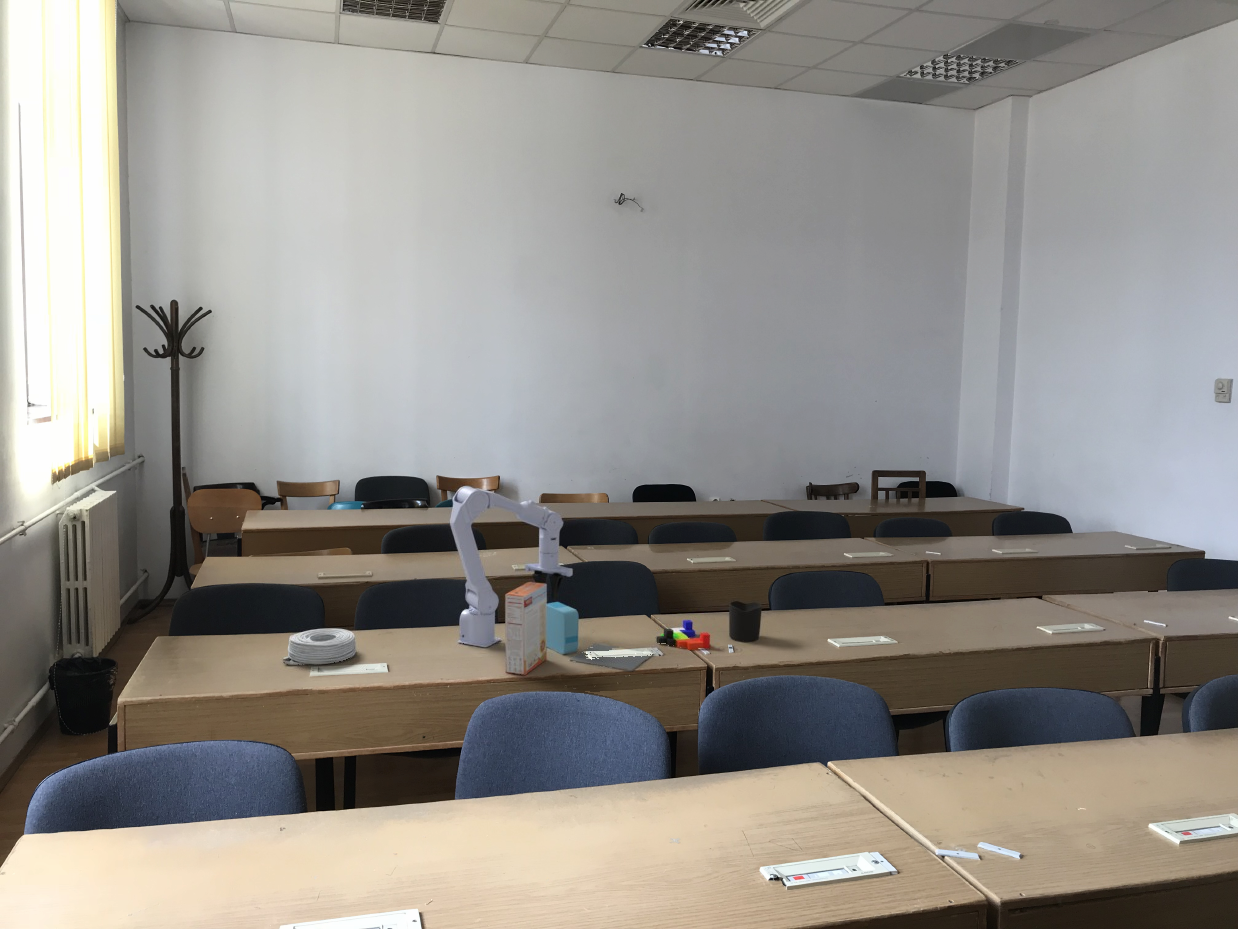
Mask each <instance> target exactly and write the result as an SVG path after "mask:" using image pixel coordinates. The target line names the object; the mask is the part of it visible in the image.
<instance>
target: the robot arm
mask: <svg viewBox="0 0 1238 929" xmlns="http://www.w3.org/2000/svg"><path fill="white" fill-rule="evenodd" d="M494 507H496V508H499V509H502V510H505V511H508V512H510V513H512V514H513V513H514V514H515V515H516V518H517V519H518V520H519V521H521V522H524V523H526V524H528V525H532V526H535V527H537V528H538V529H539V530H538V531H539V534H538V536H539V537H538V538H539V539H538V540H539V541H538V542H539V544H538V549H539V550H538V553H539V554H538V563H525V565H524V567H525V568H524V571H525V572H534V573H532V576H531V577H532V579H533V580H534V582H535V583H544V584H547V578H548V574H552V575H550V576H549V581H550V586H551V587H550V588H551V591H550V593H551V594H550V598H551V600H555V599H557V598H558V593H559V589H560V587H561V585H562V582H563V580H564V578H565V576H566V577H569V578H570V577H571V576H573V575H574V574H573V570H574V569H573V568H569V567H566V566H561V565H559V562H560V561H559V558H560V554H559V553H560V531H561V529H562V528H563V526H564V521H563V519H562V516H561V515H560V514H559V513H558V512H555V511H553V510H550V509H549V508H548V507H547V506H539V505H537V504H536V502H535V501H533V500H530V499H529V500H527V501H526V500H524V501H522V502H517V501H515V500H513V499H511V498H508V497H506V496H503V495H502V494H501V495H500V494H498V493H496V492H493V491H489V490H486V489H481V488H478V487H477V488H476V487H475V488H474V487H472V486H470V485H465V486H461V487H460V488H459V489H458V490H456V493H455V494H454V496H452V509H451V514H450V519H449V526H450V529H451V532H452V535H453V538H454V542H455V546H456V550H457V551H458V555H459V558H460V562H461V565H462V568H463V572H464V575H465V578H466V582H465V585H464V586H465V601H466V602H467V604H468V605H469V607H468V609H467V608H465V609H464V610H462V612H461V614H460V616H459V624H458V625H459V639H458V640H457V643H458V644H463V643H464V645H469V646H475V647H482V648H488V647H490V646H492V645H494V644H495V643H498V642H499V641H501V640H502V638H500V637H495V636H496V635H495V634H496V633H495V631H496V630H495V628H496V627H495V626H496V624H495V622H496V620H495V619H496V617H495V616H496V610H497V608H498V606H499V596H498V594H496V592H495V591H494V589H493V588H492V585H491V584H490V582H489V580H488V578H487V577H486V574H485V571H484V567H483V563H482V560H481V557H480V554H479V550H478V545H477V543H476V539H475V536H474V533H473V529H472V524H473V523H474V521H475V520H476V519H477V518H478V517H479V516H481V514H482V513H484V512H485V511H486V510H487V509H488V510H491V509H492V508H494Z"/></svg>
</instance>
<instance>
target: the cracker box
mask: <svg viewBox="0 0 1238 929" xmlns="http://www.w3.org/2000/svg"><path fill="white" fill-rule="evenodd" d="M547 586H548V585H547V583H546V584H544V583H536V582H535V581H528V582H526V583H523V584H522V585H521V586H519V587H516V588H514V589H513V590H511V591H509V592H508V593H505V595H504V601H505V602H504V612H505V613H504V614H505V615H504V616H505V618H504V619H505V620H504V622H505V624H504V625H505V637H504V638H505V673H507V674H512V673H515V674H514V675H520V674H521V675H520V676H526V675H527V674H528V673H530V672H532V671H533V670H534V669H535V668H536V667H538V666H540V664H541V663H544V662H545V660H547V653H548V652H547V648H548V647H547V604H548V603H547V602H548V598H547V597H548V596H547V593H548V592H547V591H548V589H547V588H548V587H547Z"/></svg>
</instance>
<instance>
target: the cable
mask: <svg viewBox="0 0 1238 929" xmlns="http://www.w3.org/2000/svg"><path fill="white" fill-rule="evenodd" d="M287 652H288V653H287V656H285V657H283V658H282V659H281V660H282V661H283V662H284V661H285V662H284V664H285V665H287V664H288V665H287V666H305V665H304V664H314V665H326V664H334V662H335V663H340V662H339V661H341V662H344V661H343V660H345V661H347V660H346V659H348V658H350V657H351V658H353V657H354V656H355V654H356V653H357V643H356V635H355V633H354V632H352V631H351V630H349V629H343V628H317V629H310V630H305V631H302V632H301V631H300V632H298V633H295V634H291V635H290V636H289V640H288V647H287ZM351 658H350V659H351ZM348 660H349V659H348ZM298 664H299V665H298ZM302 664H303V665H302Z"/></svg>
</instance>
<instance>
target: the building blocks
mask: <svg viewBox="0 0 1238 929" xmlns="http://www.w3.org/2000/svg"><path fill="white" fill-rule="evenodd" d="M693 625H694V624H693V621H692V620H690V619H684V620H682V627H673V628H671V627H670V628H663V633H661V634H660V635H657V636H656V642H657V643H660V644H661V643H666V644H668V645H669V646H668V647H677V648H678V647H679V648H678V649H681V648H680V647H685V648H684V649H687V650H688V651H692V650H693V651H694V650H699V649H698V648H707V649H710V644H711V643H710V642H711V634H709V632H700V634H699V635H700V636H699V637H696V630H694V629H693ZM688 637H690V638H688ZM656 642H655V643H656ZM657 643H656V644H657ZM666 644H665V645H666ZM673 645H674V646H673ZM675 645H676V646H675Z"/></svg>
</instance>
